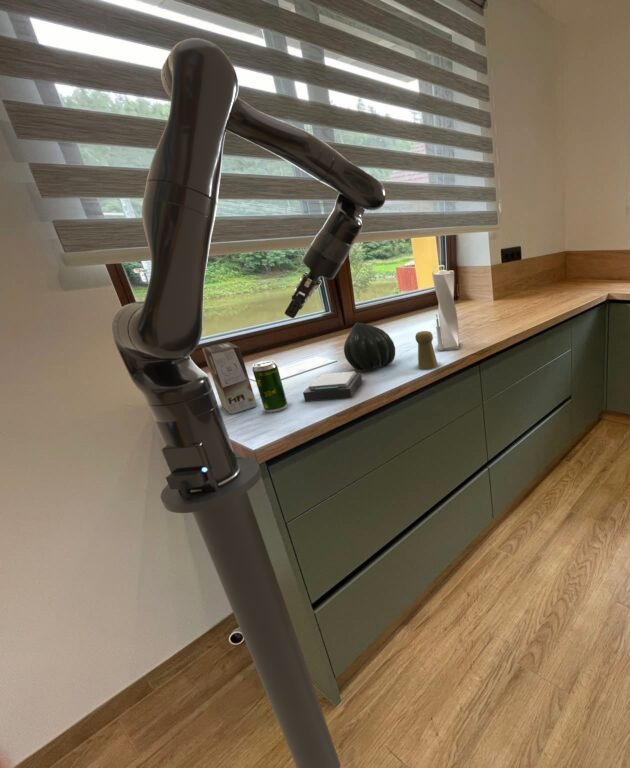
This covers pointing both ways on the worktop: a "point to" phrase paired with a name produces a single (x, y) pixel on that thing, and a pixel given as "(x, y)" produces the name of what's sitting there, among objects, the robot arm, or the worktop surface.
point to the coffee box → (230, 377)
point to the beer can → (270, 386)
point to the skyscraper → (446, 310)
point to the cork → (425, 350)
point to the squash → (368, 347)
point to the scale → (333, 386)
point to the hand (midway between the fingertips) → (292, 311)
